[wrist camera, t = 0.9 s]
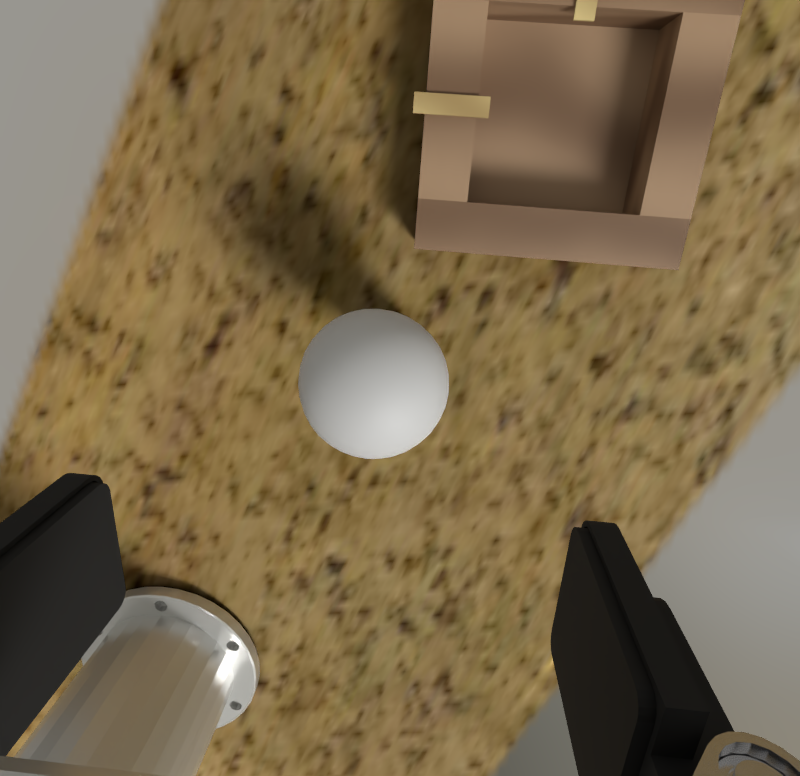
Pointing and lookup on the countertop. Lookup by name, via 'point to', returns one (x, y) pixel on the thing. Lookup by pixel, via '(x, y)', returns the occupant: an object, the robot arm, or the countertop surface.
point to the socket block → (569, 126)
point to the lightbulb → (373, 383)
